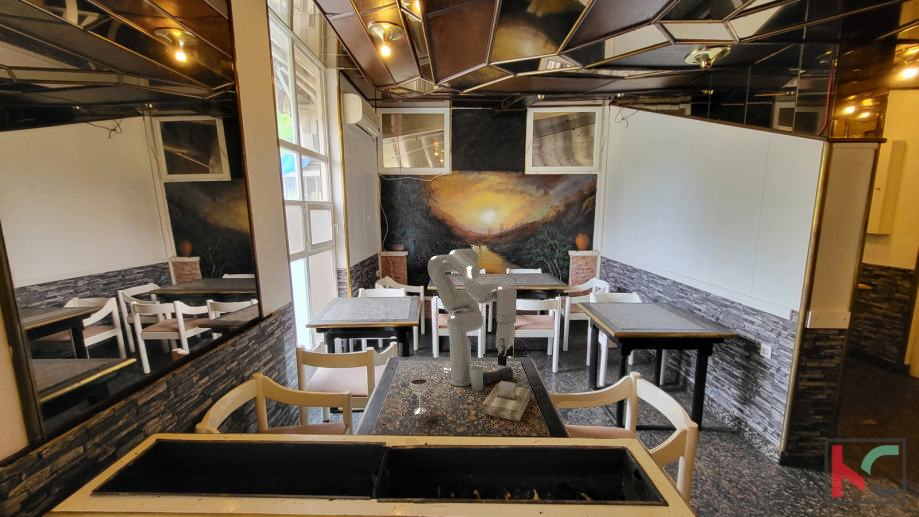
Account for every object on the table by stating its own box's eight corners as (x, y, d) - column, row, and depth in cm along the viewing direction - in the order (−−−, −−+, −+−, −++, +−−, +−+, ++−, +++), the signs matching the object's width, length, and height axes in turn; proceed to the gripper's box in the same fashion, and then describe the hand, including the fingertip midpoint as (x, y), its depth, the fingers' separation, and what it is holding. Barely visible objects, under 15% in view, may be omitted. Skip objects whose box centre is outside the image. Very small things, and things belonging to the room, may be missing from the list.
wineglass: (421, 417, 125) (420, 386, 124) (407, 412, 129) (406, 382, 128) (432, 409, 131) (431, 379, 130) (418, 404, 134) (417, 375, 133)
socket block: (482, 413, 127) (482, 403, 126) (497, 392, 143) (497, 383, 143) (519, 421, 121) (519, 410, 121) (530, 398, 137) (530, 389, 137)
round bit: (469, 390, 146) (469, 370, 145) (474, 385, 150) (473, 365, 149) (480, 392, 143) (480, 372, 143) (484, 387, 148) (484, 367, 147)
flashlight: (485, 387, 149) (484, 375, 148) (479, 382, 154) (479, 370, 153) (514, 380, 155) (514, 368, 155) (507, 375, 160) (507, 364, 160)
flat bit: (498, 406, 132) (498, 383, 131) (501, 402, 135) (501, 380, 134) (513, 409, 130) (513, 386, 129) (515, 405, 132) (515, 383, 132)
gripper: (503, 311, 139) (502, 351, 140) (489, 322, 123) (489, 367, 125) (521, 313, 136) (520, 354, 137) (509, 325, 120) (509, 371, 122)
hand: (505, 360), depth 131 cm, fingers open, 9 cm apart
